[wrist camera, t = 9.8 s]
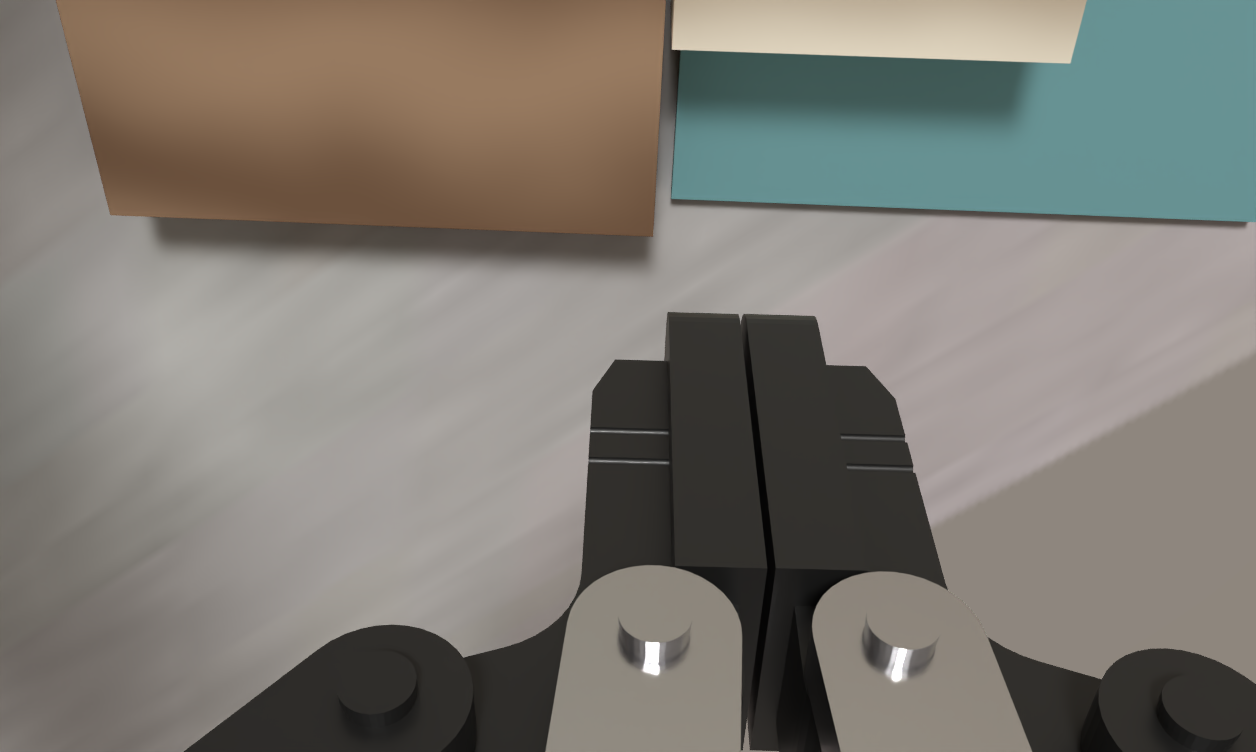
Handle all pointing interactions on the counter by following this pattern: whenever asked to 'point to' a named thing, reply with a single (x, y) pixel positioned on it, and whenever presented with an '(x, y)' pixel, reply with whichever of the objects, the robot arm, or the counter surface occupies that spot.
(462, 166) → the brown flat block
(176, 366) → the counter surface
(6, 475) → the counter surface
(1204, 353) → the counter surface
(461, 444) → the counter surface
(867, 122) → the mat
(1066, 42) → the beige block
